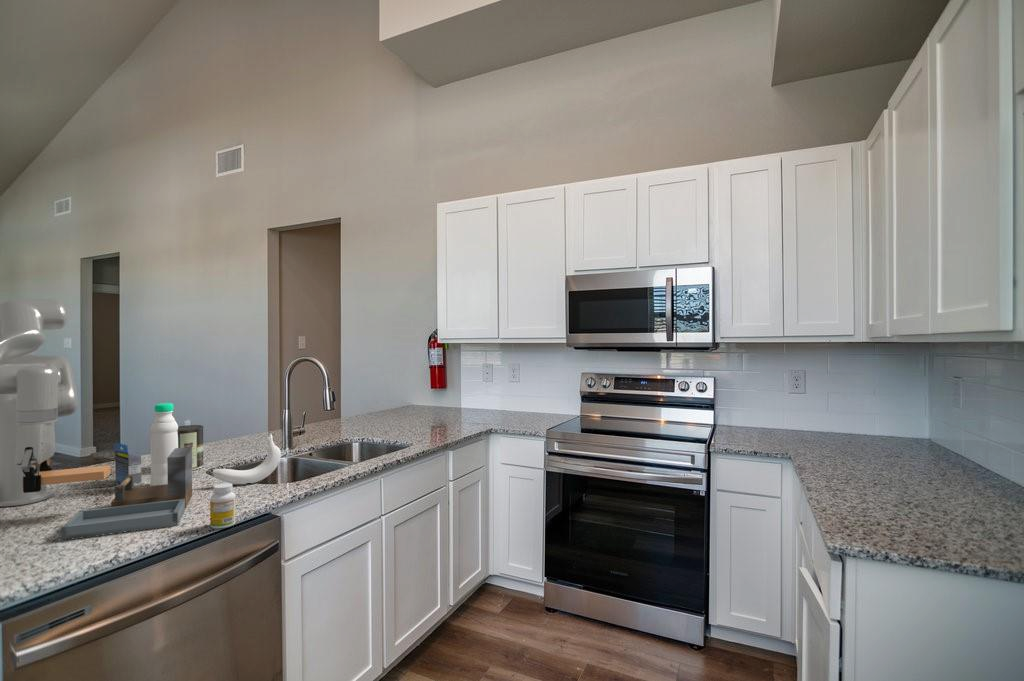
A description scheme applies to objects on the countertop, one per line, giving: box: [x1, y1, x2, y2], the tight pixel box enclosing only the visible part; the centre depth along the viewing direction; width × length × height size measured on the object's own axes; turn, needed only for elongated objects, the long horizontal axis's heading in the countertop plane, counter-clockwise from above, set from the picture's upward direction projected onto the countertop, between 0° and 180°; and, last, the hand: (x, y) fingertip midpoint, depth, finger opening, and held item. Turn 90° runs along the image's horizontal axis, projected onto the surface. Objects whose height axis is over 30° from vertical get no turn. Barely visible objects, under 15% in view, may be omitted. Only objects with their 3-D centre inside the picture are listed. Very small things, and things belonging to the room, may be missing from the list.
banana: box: [212, 432, 282, 485], centre depth 159 cm, size 5×19×15 cm, turn 128°
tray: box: [60, 499, 186, 541], centre depth 125 cm, size 22×12×3 cm, turn 115°
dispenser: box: [110, 447, 193, 510], centre depth 138 cm, size 16×12×14 cm
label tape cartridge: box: [114, 441, 142, 485], centre depth 160 cm, size 9×4×12 cm, turn 59°
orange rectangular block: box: [22, 465, 112, 487], centre depth 131 cm, size 16×6×2 cm, turn 115°
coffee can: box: [177, 424, 205, 471], centre depth 176 cm, size 10×10×14 cm
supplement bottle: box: [209, 482, 237, 529], centre depth 125 cm, size 5×5×10 cm
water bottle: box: [149, 402, 179, 486], centre depth 157 cm, size 7×7×25 cm
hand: (37, 486), depth 129 cm, fingers closed on orange rectangular block, 5 cm apart
